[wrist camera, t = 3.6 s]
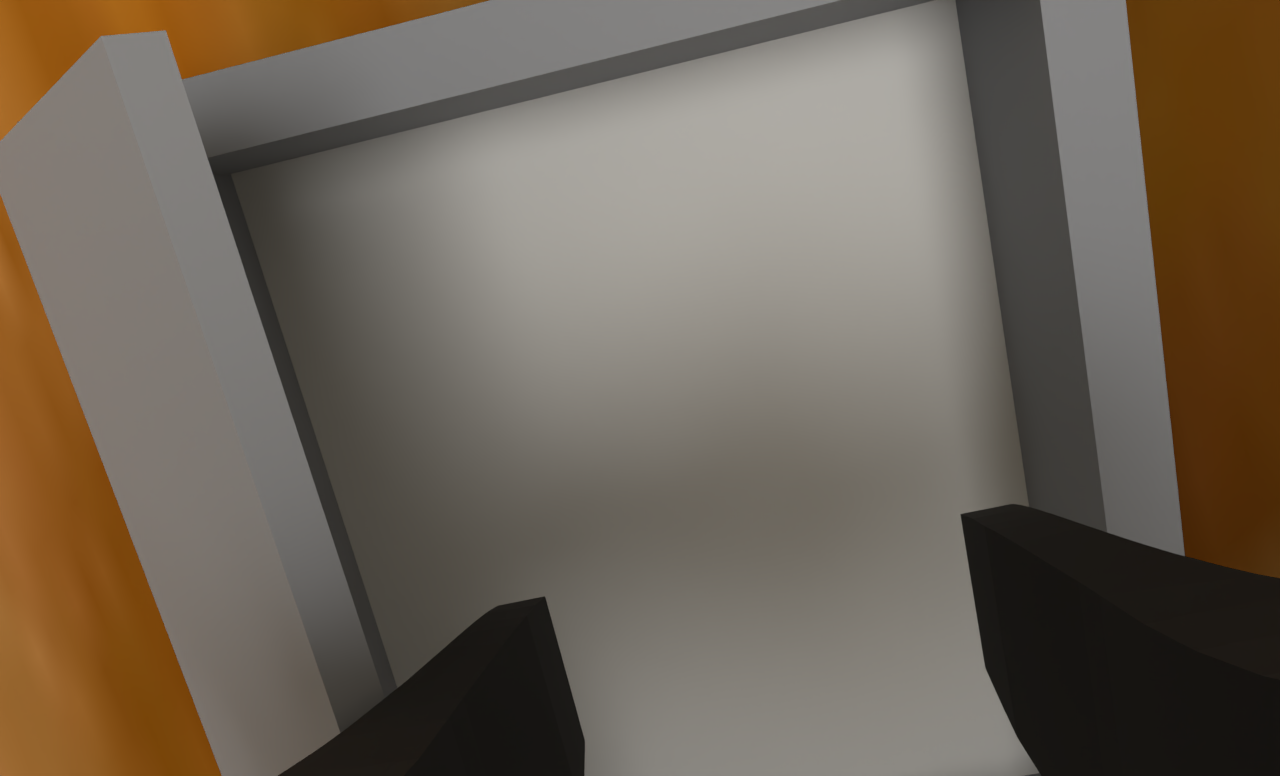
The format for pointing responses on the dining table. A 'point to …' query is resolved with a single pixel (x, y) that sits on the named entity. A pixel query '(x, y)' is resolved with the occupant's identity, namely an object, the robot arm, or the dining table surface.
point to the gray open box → (710, 345)
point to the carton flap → (186, 403)
